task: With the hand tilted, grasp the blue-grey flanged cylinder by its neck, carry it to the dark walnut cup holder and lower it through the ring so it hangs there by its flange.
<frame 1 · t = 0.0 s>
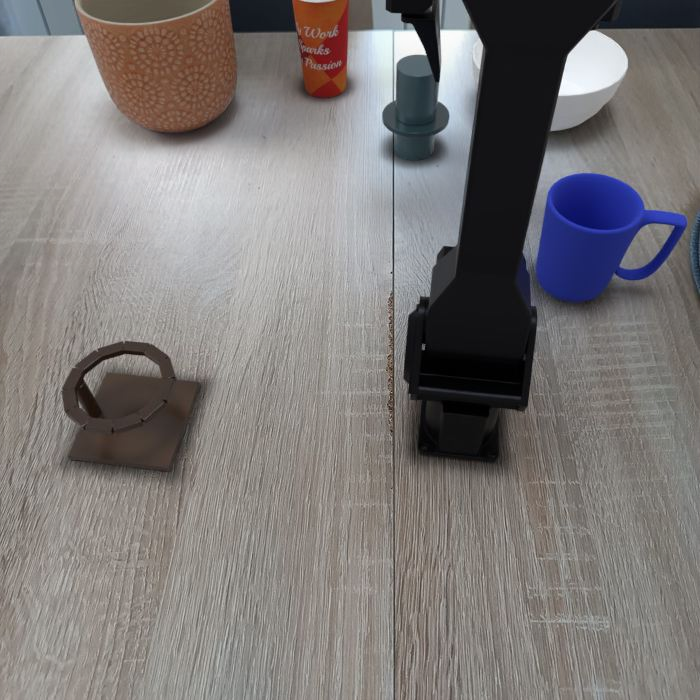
hand: (487, 82, 61), 15 cm above the table, tool pointing down, fingers open, 9 cm apart
blue-grey flanged cylinder: (413, 148, 79), on the table
paper cup: (326, 88, 89), on the table
planter: (181, 113, 86), on the table
bowl: (536, 111, 84), on the table
mug: (588, 286, 65), on the table
cup holder: (137, 421, 56), on the table
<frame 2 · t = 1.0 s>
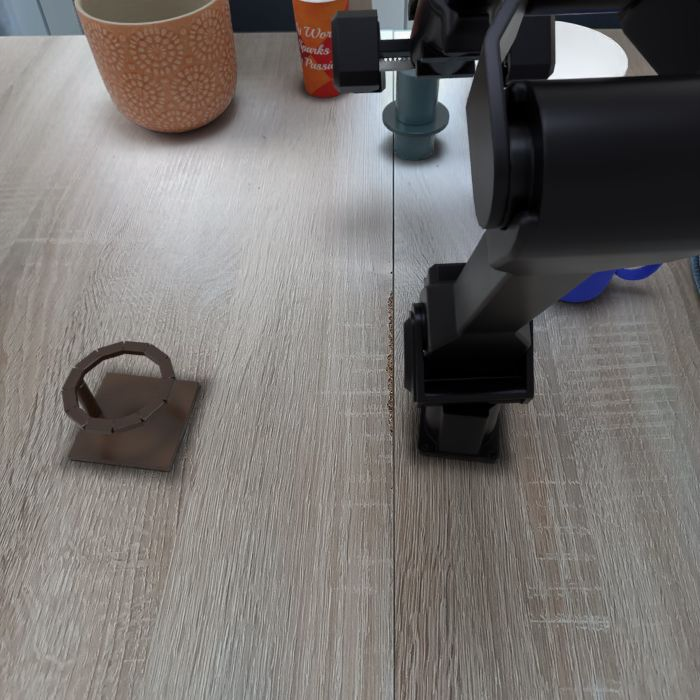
hand: (429, 80, 64), 13 cm above the table, tool tilted 45°, fingers open, 9 cm apart
nothing on the table moved.
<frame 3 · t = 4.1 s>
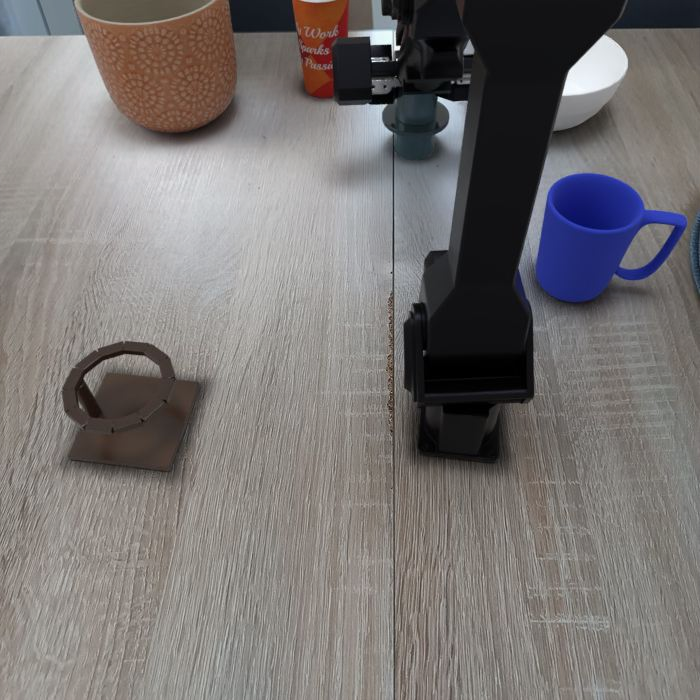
hand: (415, 91, 75), 7 cm above the table, tool tilted 45°, fingers closed on blue-grey flanged cylinder, 5 cm apart
blue-grey flanged cylinder: (413, 148, 79), on the table, touching gripper
everything else where it was.
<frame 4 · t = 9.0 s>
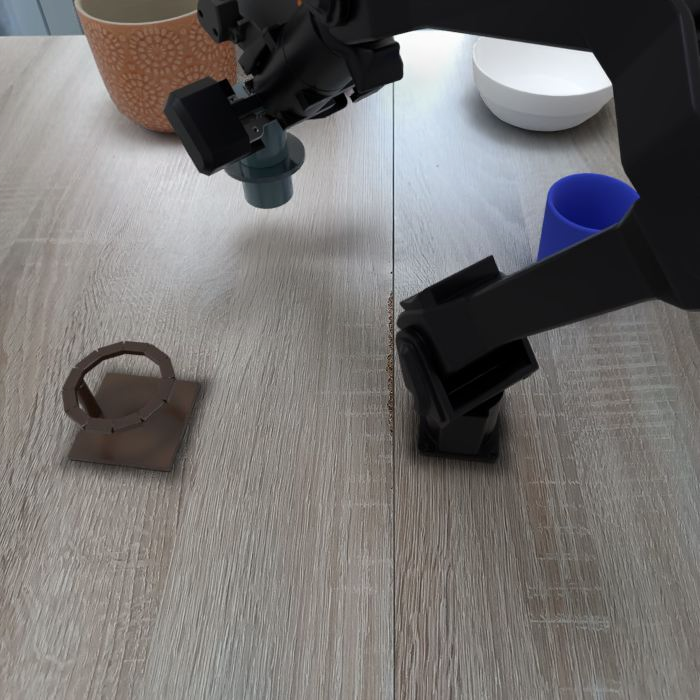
hand: (251, 127, 60), 13 cm above the table, tool tilted 45°, fingers closed on blue-grey flanged cylinder, 5 cm apart
blue-grey flanged cylinder: (269, 193, 64), point 7 cm above the table, touching gripper
everything else where it was.
when the fingers open (8 cm above the table, at t = 14.0 s): blue-grey flanged cylinder stays where it is, resting on cup holder.
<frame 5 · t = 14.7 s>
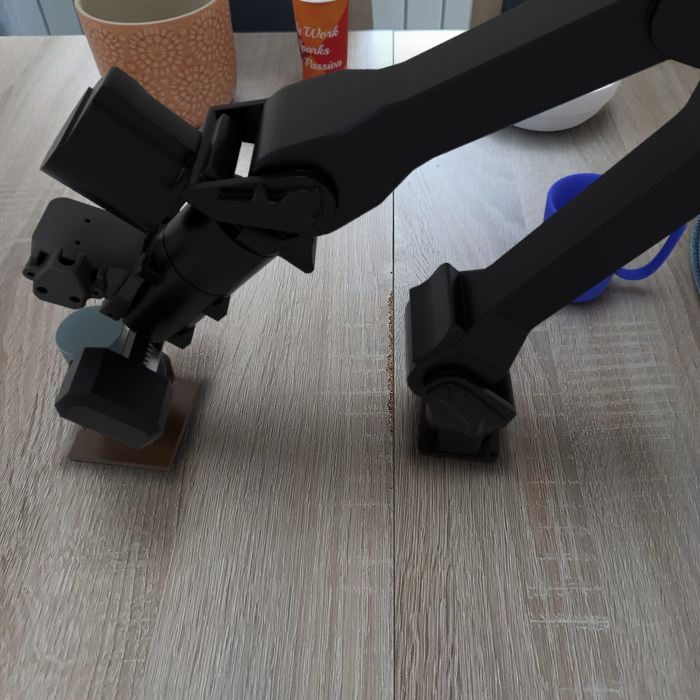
hand: (89, 362, 49), 8 cm above the table, tool tilted 45°, fingers open, 9 cm apart
blue-grey flanged cylinder: (131, 411, 55), point 1 cm above the table, touching cup holder
everything else where it was.
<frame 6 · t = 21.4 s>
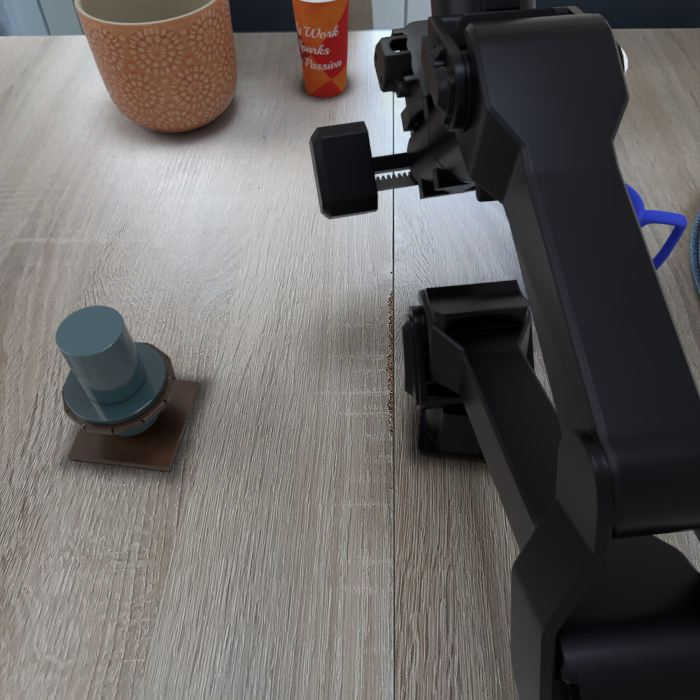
hand: (416, 176, 56), 13 cm above the table, tool tilted 45°, fingers open, 9 cm apart
nothing on the table moved.
at the end: blue-grey flanged cylinder 0.1 cm off-centre on the cup holder, point 1.5 cm above the cup holder's base; blue-grey flanged cylinder touching cup holder; blue-grey flanged cylinder tilted 0° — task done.
